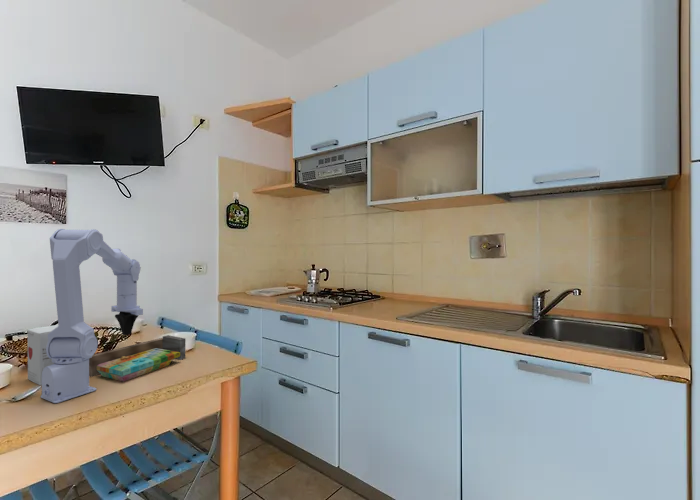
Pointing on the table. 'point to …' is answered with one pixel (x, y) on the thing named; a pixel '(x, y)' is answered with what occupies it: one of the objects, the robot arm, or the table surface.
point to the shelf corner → (138, 351)
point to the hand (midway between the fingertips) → (126, 334)
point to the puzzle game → (136, 364)
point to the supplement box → (38, 352)
